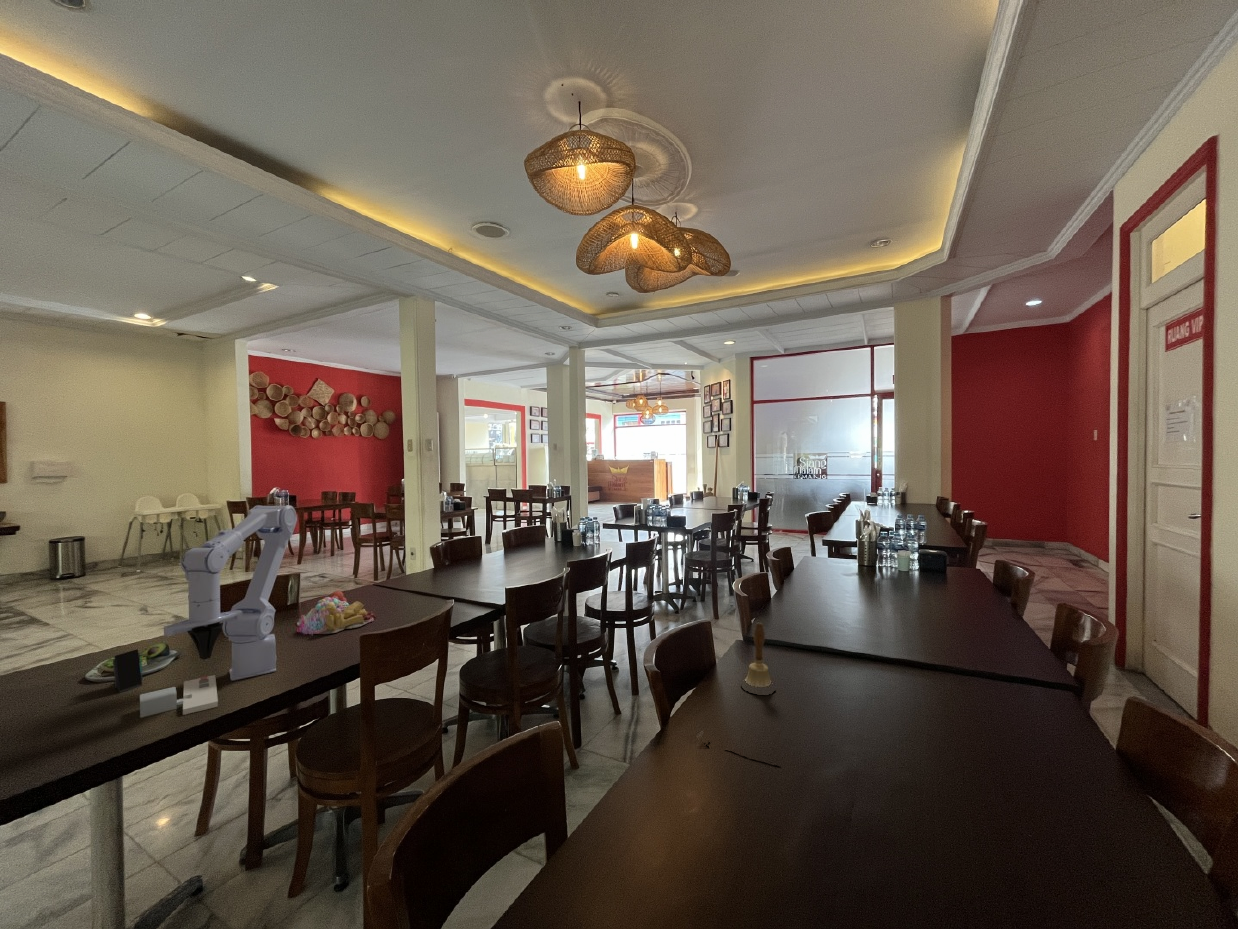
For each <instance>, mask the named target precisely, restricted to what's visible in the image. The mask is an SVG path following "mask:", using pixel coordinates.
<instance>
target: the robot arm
mask: <svg viewBox="0 0 1238 929" xmlns="http://www.w3.org/2000/svg"><path fill="white" fill-rule="evenodd" d="M297 522H298V515H297V512H296V509H295V507H294V506H292V505H290V504H289V505H259V504H257V505H255V506H253V507H252V508H251V509H249V510H248V512H247V516H246V517H245V518H243V519H242V521H240V523H238V524H237V525H236V526H235V527H234V528H232V529H230V528H228V529H221V530H219V531H218V532H217V533H218V534H216V535H215V536H214V537H212V538H210V539H209V540H206V541H205V542H204V543H203V544H202V545H201V546H199V547H193V548H190V549H189V550H187V551H185V553H184V555H183V557H182V560H181V561H180V567H181V570H182V571H183V572H184V575H185V576H184V577H185V580H186V581H187V582H188V584H187V585H188V586H187V587H188V591H187V594H188V619H185V620H183V621H179V622H176V623H172V624H169V625H165V626H163V636H164V637H165V636H166V637H171V636H174V635H176V634H181V633H185V632H186V633H187V634H188V635H189V636H190V638H191V639H192V641H193V642H194V645H195V647H196V649H197V652H198V656H199V659H201V660H204V661H205V660H209V659H211V657H212V652H213V649H214V647H215V644H216V641H217V639H218V637H219V636H220V634H221V632H222V631H223V635H224V636H225V637H227V638H228V642H231V668H230V669H229V676H230V681H232V682H233V681H238V680H242V679H247V678H251V677H257V676H260V675H261V676H262V675H266V674H268V673H269V674H270V673H274V672H276V671H277V647H276V645H277V644H276V636H275V633H271V632H272V631H273V628H274V624H275V613H276V611H277V610H276V609H275V607H274V606H273V605H272V604H271V603H270V602H269V599H270V596H271V593H272V590H273V588H274V584H275V581H276V579H277V576H278V573H279V570H280V567H281V564H282V562H283V558H284V555H285V552H286V549H287V546H288V544H289V540H290V539H291V538H292V536H293V534H294V530H295V528H296V526H297ZM254 533H255V534H256V535H257V536H258V538H259V539H261V540H263V542H264V543H263V546H262V550H261V551H260V552H261V553H260V556H259V558H258V559H257V560H258V561H257V564H256V566H255V570H254V572H253V573H252V574H253V575H252V578H251V579H250V583H249V585H248V588H247V590H246V594H245V595H244V596H245V597H244V598H243V599H241V600H240V601H239V602H237V603H235V604H234V605H232V607H231V609H230V611H226V612H224V611H223V612H221V575H220V574H221V571H222V570H224V568H225V566H226V564H227V561H228V560H229V558H230V557H231V556H232V555H233V554H235V553H236V552H237V551H239V550H240V549H241V548H242V547H243V545H244V540H245V539H247V538H248V537H249V536H251V535H253V534H254Z"/></svg>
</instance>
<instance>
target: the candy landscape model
mask: <svg viewBox="0 0 1238 929" xmlns="http://www.w3.org/2000/svg"><path fill="white" fill-rule="evenodd" d="M347 601H348V600H347V598H346V597H344V593H343V592H342V591H340V590H335V591H333V592H332V593H331V594H330V597H329V596H326V597H324V598H322V599H320V600H318V601H317V604H315V607H313V608H311V609H310V611H309V612H308V613H306V614H302V613H301V616H300V618H298V621H297V622H296V626H297V627H298V628H297V629H296V632H297V633H300V634H303V636H305V635H306V636H307V634H308V635H311V636H314V635H315V634H316V635H317V634H318V635H327V634H334V633H338V632H341V631H343V630H345V629H346V630H347V629H355V628H359V627H362V626H364V625H367V624H368V623H371V622H374V619H377V616H376V615H375V613H374V612H373V611H370V610H369V611H366V609H365V608H364V606H365V605H364V604H363V603H361V601H354V602H353V603H352V604H349V603H348V602H347ZM313 634H314V635H313Z"/></svg>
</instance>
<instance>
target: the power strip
mask: <svg viewBox="0 0 1238 929" xmlns="http://www.w3.org/2000/svg"><path fill="white" fill-rule="evenodd" d="M217 690H218V688H217V681H216V674H214V675H209V676H205V675H204V676H201V677H199V678H195V679H190V680H185V681H183V698H188V699H184V700H183V704H182V716H184V715H189V714H192V713H196V712H197V713H198V712H202V711H205V710H209V709H213V708H217V707H218V706H219V698H218V691H217ZM183 698H182V699H183Z"/></svg>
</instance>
